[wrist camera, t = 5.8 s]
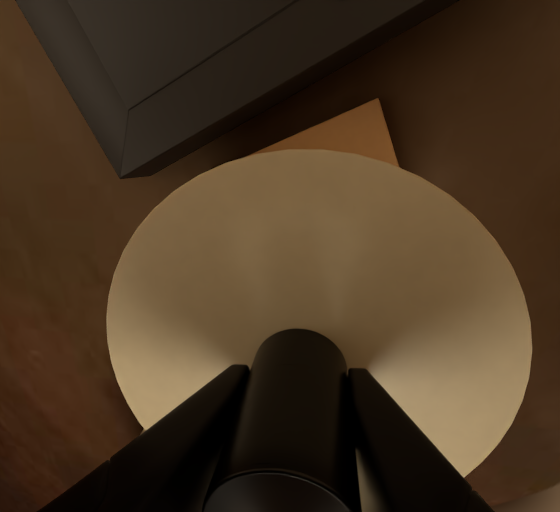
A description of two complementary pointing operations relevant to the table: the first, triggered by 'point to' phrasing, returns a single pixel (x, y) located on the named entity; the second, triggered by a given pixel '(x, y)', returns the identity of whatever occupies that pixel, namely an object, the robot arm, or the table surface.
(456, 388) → the lid
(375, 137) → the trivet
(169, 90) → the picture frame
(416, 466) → the robot arm
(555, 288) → the table surface
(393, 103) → the table surface
